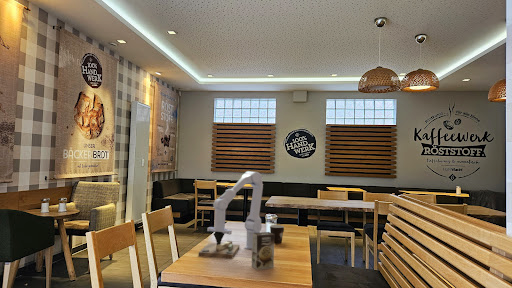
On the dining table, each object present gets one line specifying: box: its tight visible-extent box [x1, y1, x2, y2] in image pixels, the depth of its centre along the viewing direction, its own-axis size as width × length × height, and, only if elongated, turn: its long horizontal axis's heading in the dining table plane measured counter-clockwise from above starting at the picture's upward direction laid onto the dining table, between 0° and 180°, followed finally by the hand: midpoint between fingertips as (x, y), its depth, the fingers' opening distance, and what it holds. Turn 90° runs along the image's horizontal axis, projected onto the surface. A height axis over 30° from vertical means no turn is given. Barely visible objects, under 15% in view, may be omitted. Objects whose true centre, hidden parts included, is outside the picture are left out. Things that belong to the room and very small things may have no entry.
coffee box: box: [251, 231, 275, 271], centre depth 167 cm, size 9×6×16 cm
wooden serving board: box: [198, 242, 240, 259], centre depth 191 cm, size 18×20×4 cm
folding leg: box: [216, 240, 233, 251], centre depth 192 cm, size 12×3×3 cm, turn 150°
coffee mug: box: [269, 224, 285, 245], centre depth 216 cm, size 12×9×10 cm
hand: (218, 245), depth 190 cm, fingers closed, pressing on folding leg
